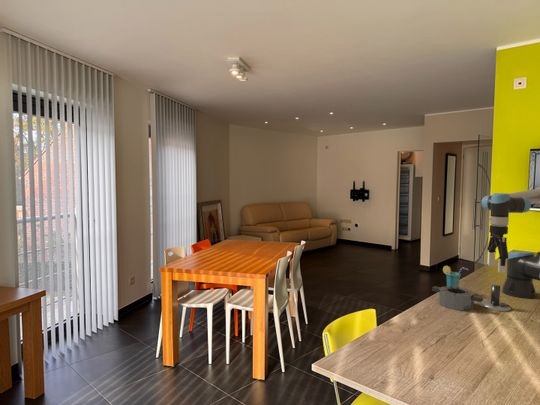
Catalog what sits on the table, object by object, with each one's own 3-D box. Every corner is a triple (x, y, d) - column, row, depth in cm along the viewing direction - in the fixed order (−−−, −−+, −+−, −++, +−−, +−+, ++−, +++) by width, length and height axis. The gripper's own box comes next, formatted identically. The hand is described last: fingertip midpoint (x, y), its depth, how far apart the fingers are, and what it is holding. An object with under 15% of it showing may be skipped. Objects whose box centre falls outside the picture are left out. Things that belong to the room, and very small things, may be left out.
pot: (426, 302, 184) (426, 288, 183) (439, 296, 194) (439, 283, 193) (474, 315, 167) (475, 300, 166) (486, 307, 177) (487, 293, 176)
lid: (504, 303, 183) (505, 283, 183) (515, 313, 171) (516, 290, 170) (475, 301, 186) (476, 281, 186) (484, 310, 174) (485, 288, 173)
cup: (470, 294, 197) (471, 267, 196) (465, 297, 191) (466, 269, 190) (443, 288, 207) (444, 262, 206) (438, 291, 202) (439, 264, 201)
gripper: (481, 222, 189) (479, 262, 190) (499, 228, 165) (497, 274, 166) (498, 222, 187) (495, 263, 188) (518, 229, 163) (515, 276, 164)
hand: (496, 269), depth 177 cm, fingers open, 13 cm apart
